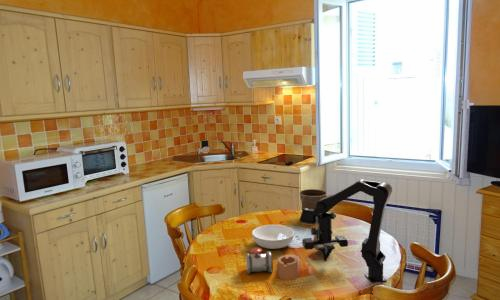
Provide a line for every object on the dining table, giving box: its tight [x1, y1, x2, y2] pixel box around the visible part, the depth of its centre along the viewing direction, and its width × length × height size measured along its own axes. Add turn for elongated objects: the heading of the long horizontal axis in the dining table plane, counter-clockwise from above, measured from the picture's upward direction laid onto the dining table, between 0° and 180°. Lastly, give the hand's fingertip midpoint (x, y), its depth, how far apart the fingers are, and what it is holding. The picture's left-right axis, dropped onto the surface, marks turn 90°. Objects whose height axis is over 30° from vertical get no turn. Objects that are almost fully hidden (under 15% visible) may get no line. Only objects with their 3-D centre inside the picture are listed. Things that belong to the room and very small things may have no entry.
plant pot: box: [298, 188, 328, 214], centre depth 217 cm, size 16×16×16 cm
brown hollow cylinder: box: [277, 254, 301, 281], centre depth 158 cm, size 18×8×7 cm, turn 168°
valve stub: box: [245, 247, 274, 274], centre depth 157 cm, size 10×9×10 cm
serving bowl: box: [251, 224, 295, 250], centre depth 183 cm, size 21×21×7 cm
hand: (325, 260), depth 159 cm, fingers closed
